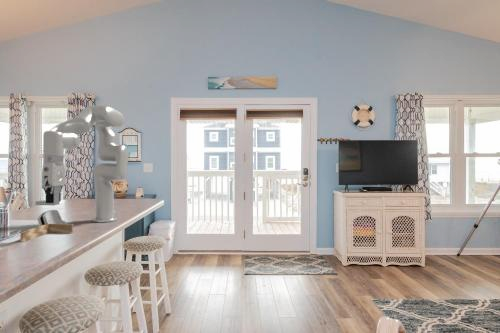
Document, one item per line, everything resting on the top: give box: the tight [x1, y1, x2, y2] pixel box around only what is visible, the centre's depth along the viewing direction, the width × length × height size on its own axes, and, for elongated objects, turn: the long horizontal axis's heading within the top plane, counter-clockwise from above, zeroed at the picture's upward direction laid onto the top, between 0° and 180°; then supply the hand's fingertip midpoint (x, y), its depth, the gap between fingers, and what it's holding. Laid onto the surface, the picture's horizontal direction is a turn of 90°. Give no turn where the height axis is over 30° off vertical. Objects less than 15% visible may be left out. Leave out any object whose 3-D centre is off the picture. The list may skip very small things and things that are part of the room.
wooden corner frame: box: [20, 223, 74, 243], centre depth 147 cm, size 18×12×4 cm, turn 178°
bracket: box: [34, 186, 60, 207], centre depth 144 cm, size 8×4×8 cm, turn 88°
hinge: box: [37, 209, 67, 226], centre depth 164 cm, size 17×5×10 cm, turn 9°
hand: (53, 201), depth 144 cm, fingers closed on bracket, 4 cm apart
